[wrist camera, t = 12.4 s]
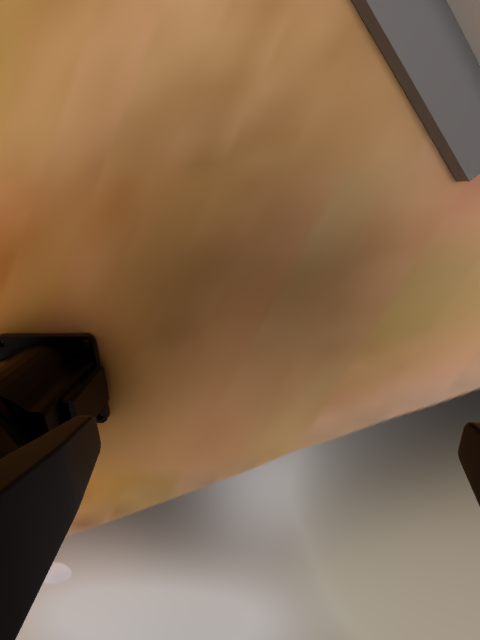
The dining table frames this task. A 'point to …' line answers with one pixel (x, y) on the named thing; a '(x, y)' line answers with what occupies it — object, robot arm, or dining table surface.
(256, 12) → the dining table surface
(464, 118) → the board
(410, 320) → the dining table surface
